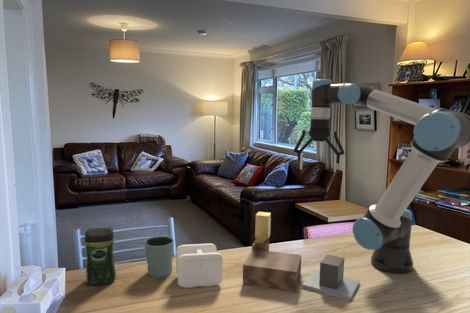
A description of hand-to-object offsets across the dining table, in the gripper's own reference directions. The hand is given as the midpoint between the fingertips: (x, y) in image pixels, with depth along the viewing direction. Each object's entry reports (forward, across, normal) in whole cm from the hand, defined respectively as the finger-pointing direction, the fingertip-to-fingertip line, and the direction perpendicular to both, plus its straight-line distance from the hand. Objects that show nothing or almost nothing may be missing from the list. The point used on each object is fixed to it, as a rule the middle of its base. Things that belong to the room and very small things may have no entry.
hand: (317, 170), depth 155 cm
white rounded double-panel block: (+35, +36, +41) cm, 65 cm away
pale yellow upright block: (+26, +19, +18) cm, 37 cm away
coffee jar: (+35, +68, +51) cm, 92 cm away
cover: (+35, -8, +30) cm, 47 cm away
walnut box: (+35, +12, +27) cm, 46 cm away
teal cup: (+35, +52, +39) cm, 74 cm away
